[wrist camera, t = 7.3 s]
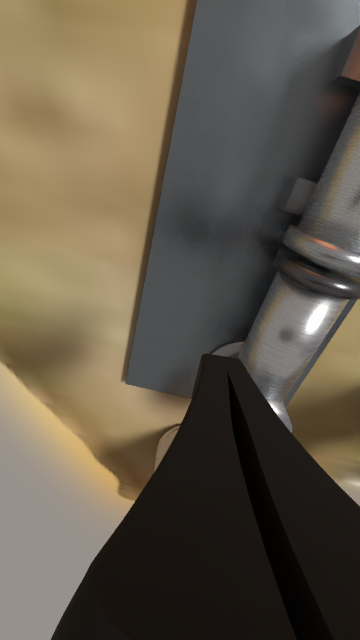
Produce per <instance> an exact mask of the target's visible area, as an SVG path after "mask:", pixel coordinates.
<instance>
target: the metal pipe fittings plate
mask: <svg viewBox="0 0 360 640" xmlns="http://www.w3.org/2000/svg"><path fill="white" fill-rule="evenodd" d="M281 248H290V249H292V250H293V251H295V252H297V253H299V254H301V255H303V256H305V257H308V258H310V259H312V260H315V261H317V262H320V263H322V264H325V265H328V266H331V267H334V268H337V269H340V270H343V271H347V272H350V273H354V274H359V275H360V0H197V3H196V9H195V14H194V19H193V25H192V30H191V35H190V41H189V46H188V51H187V57H186V62H185V68H184V73H183V78H182V84H181V89H180V94H179V100H178V105H177V110H176V116H175V121H174V126H173V132H172V137H171V143H170V148H169V153H168V159H167V164H166V169H165V175H164V180H163V185H162V191H161V196H160V201H159V207H158V212H157V217H156V223H155V228H154V234H153V239H152V244H151V250H150V255H149V260H148V266H147V271H146V276H145V282H144V287H143V292H142V298H141V303H140V309H139V314H138V319H137V325H136V330H135V335H134V341H133V346H132V351H131V357H130V362H129V367H128V373H127V378H126V384H128V385H133V386H138V387H142V388H147V389H152V390H156V391H161V392H166V393H170V394H175V395H179V396H184V397H189V398H192V392H193V388H194V384H195V380H196V376H197V372H198V368H199V364H200V360H201V356H202V355H203V354H205V353H206V354H213V355H219V356H225V357H227V356H229V355H232V354H235V353H240V352H241V349H242V347H243V345H244V343H245V341H246V338H247V336H248V334H249V332H250V330H251V328H252V325H253V323H254V321H255V319H256V317H257V315H258V312H259V310H260V308H261V306H262V304H263V302H264V299H265V297H266V295H267V293H268V291H269V289H270V286H271V284H272V282H273V280H274V278H275V275H276V273H277V271H278V270H277V269H276V268H275V267H274V266H273V262H274V259H275V257H276V255H277V253H278V250H279V249H281ZM356 301H357V300H349V301H348V303H347V304H346V306H345V307H344V309H343V310H342V312H341V314H340V315H339V317H338V318H337V320H336V321H335V323H334V324H333V326H332V327H331V329H330V331H329V332H328V334H327V335H326V337H325V338H324V340H323V341H322V343H321V344H320V346H319V347H318V349H317V351H316V352H315V354H314V355H313V357H312V358H311V360H310V361H309V363H308V364H307V366H306V367H305V369H304V371H303V372H302V374H301V375H300V377H299V378H298V380H297V381H296V383H295V384H294V386H293V387H292V389H291V391H290V392H289V394H288V395H287V397H286V398H285V400H284V401H283V402H284V405H285V407H286V406H287V404H288V403H289V401H290V400H291V398H292V397H293V395H294V394H295V392H296V391H297V389H298V388H299V386H300V385H301V383H302V382H303V380H304V379H305V377H306V376H307V374H308V373H309V371H310V370H311V368H312V367H313V365H314V364H315V362H316V361H317V359H318V358H319V356H320V355H321V353H322V352H323V350H324V349H325V347H326V346H327V344H328V343H329V341H330V340H331V338H332V337H333V335H334V334H335V332H336V331H337V329H338V328H339V326H340V325H341V323H342V322H343V320H344V319H345V317H346V316H347V314H348V313H349V311H350V310H351V308H352V307H353V305H354V304H355V302H356Z"/></svg>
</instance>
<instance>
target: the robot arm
mask: <svg viewBox="0 0 360 640" xmlns="http://www.w3.org/2000/svg"><path fill="white" fill-rule="evenodd" d="M51 640H360V506H359V505H358V504H356V502H354V500H352V498H351V497H349V496H348V495H347V494H346V493H345V492H344V491H343V490H342V489H341V488H340V487H339V486H338V485H337V484H336V483H335V481H334V480H333V479H332V478H331V477H330V476H329V475H328V474H327V473H326V472H325V471H324V470H323V469H322V468H321V467H320V466H319V464H318V463H317V462H316V461H315V460H314V459H313V458H312V457H311V455H310V454H309V453H308V452H307V451H306V450H305V449H304V448H303V446H302V445H301V444H300V443H299V442H298V441H297V439H296V438H295V437H294V436H293V434H292V433H291V432H290V431H289V429H288V428H287V427H286V426H285V424H284V423H283V422H282V420H281V419H280V418H279V416H278V415H277V414H276V412H275V411H274V410H273V408H272V407H271V405H270V404H269V403H268V401H267V400H266V398H265V397H264V395H263V394H262V392H261V391H260V389H259V388H258V386H257V385H256V383H255V382H254V380H253V379H252V377H251V376H250V374H249V373H248V371H247V369H246V368H245V366H244V365H243V363H242V362H241V360H240V359H238V358H232V357H225V356H219V355H213V354H206V353H205V354H203V355H202V356H201V360H200V364H199V368H198V372H197V376H196V380H195V384H194V388H193V392H192V401H191V403H190V405H189V408H188V410H187V412H186V415H185V417H184V419H183V421H182V423H181V425H180V427H179V429H178V431H177V433H176V435H175V437H174V439H173V441H172V443H171V444H170V446H169V448H168V450H167V451H166V453H165V455H164V457H163V458H162V460H161V462H160V464H159V465H158V467H157V469H156V470H155V472H154V474H153V475H152V477H151V478H150V480H149V481H148V483H147V484H146V486H145V487H144V489H143V490H142V492H141V494H140V495H139V497H138V498H137V500H136V501H135V503H134V504H133V506H132V507H131V509H130V510H129V512H128V513H127V515H126V516H125V517H124V519H123V521H122V522H121V523H120V524H119V526H118V527H117V529H116V530H115V532H114V533H113V534H112V535H111V537H110V538H109V539H108V541H107V542H106V544H105V545H104V546H103V548H102V549H101V550H100V552H99V553H98V555H97V556H96V557H95V559H94V560H93V562H92V563H91V565H90V567H89V569H88V571H87V573H86V575H85V577H84V578H83V580H82V582H81V584H80V585H79V587H78V589H77V591H76V592H75V594H74V596H73V598H72V599H71V601H70V603H69V605H68V607H67V609H66V610H65V612H64V614H63V616H62V618H61V620H60V622H59V624H58V626H57V628H56V630H55V632H54V634H53V636H52V638H51Z"/></svg>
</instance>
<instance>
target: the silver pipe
mask: <svg viewBox="0 0 360 640" xmlns="http://www.w3.org/2000/svg"><path fill="white" fill-rule="evenodd" d="M273 266H274V267H275V268H276V269H277V270H278V271H277V273H276V275H275V278H274V280H273V282H272V284H271V286H270V289H269V291H268V293H267V295H266V297H265V299H264V302H263V304H262V306H261V308H260V310H259V312H258V315H257V317H256V319H255V321H254V323H253V325H252V328H251V330H250V332H249V334H248V336H247V338H246V341H245V343H244V345H243V347H242V349H241V352H240V353H235V354H232V355H229V356H227V357H232V358H238V359H240V360H241V362H242V363H243V365H244V366H245V368H246V369H247V371H248V373H249V374H250V376H251V377H252V379H253V380H254V382H255V383H256V385H257V386H258V388H259V389H260V391H261V392H262V394H263V395H264V397H265V398H266V400H267V401H268V403H269V404H270V405H271V407H272V408H273V410H274V411H275V412H276V414H277V415H278V416H279V418H280V419H281V420H282V422H283V423H284V424H285V426H286V427H287V428H288V429H289V431H290V432H291V433H292V424H291V421H290V419H289V416H288V413H287V410H286V407H285V405H284V402H283V401H284V400H285V398H286V397H287V395H288V394H289V392H290V391H291V389H292V387H293V386H294V384H295V383H296V381H297V380H298V378H299V377H300V375H301V374H302V372H303V371H304V369H305V367H306V366H307V364H308V363H309V361H310V360H311V358H312V357H313V355H314V354H315V352H316V351H317V349H318V347H319V346H320V344H321V343H322V341H323V340H324V338H325V337H326V335H327V334H328V332H329V331H330V329H331V327H332V326H333V324H334V323H335V321H336V320H337V318H338V317H339V315H340V314H341V312H342V310H343V309H344V307H345V306H346V304H347V303H348V301H349V300H358V299H360V275H359V274H354V273H350V272H347V271H343V270H340V269H337V268H334V267H331V266H328V265H325V264H322V263H320V262H317V261H315V260H312V259H310V258H308V257H305V256H303V255H301V254H299V253H297V252H295V251H293V250H292V249H290V248H281V249H279V250H278V253H277V255H276V257H275V259H274V262H273Z"/></svg>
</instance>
